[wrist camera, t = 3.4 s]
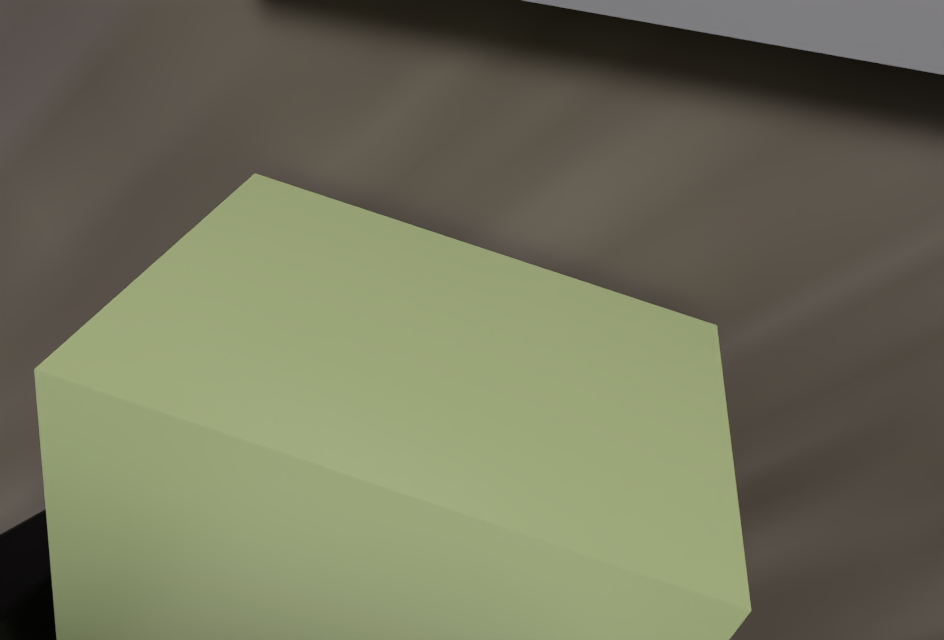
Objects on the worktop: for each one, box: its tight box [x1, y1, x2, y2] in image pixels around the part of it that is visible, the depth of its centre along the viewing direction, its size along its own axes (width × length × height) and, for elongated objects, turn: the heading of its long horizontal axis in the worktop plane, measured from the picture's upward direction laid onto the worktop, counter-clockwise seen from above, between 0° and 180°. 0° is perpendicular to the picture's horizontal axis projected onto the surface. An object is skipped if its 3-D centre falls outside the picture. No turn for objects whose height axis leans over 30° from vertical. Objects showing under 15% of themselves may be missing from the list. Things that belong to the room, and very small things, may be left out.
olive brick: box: [34, 174, 751, 640], centre depth 9 cm, size 7×5×4 cm
